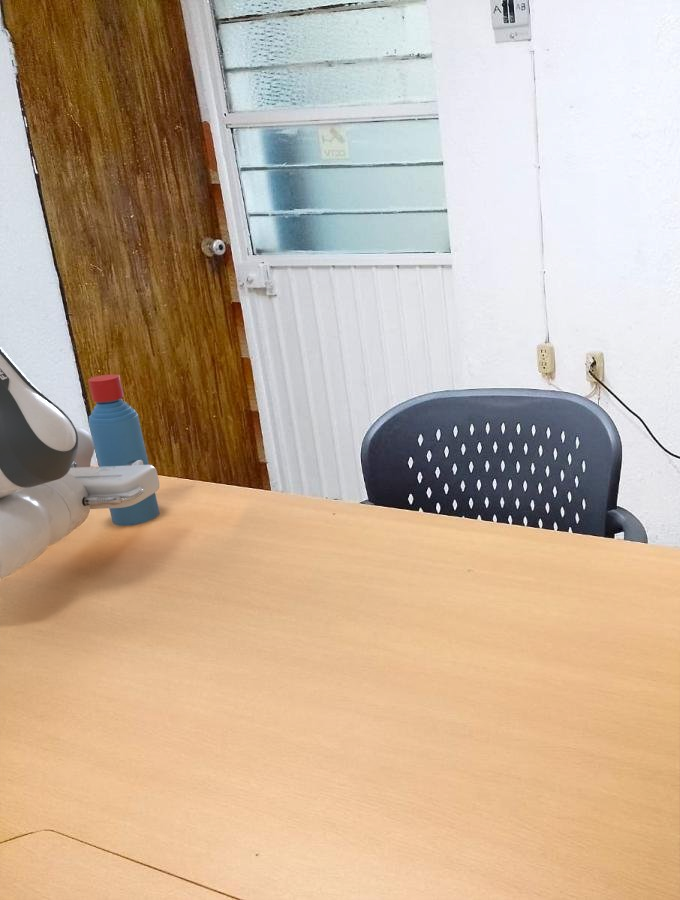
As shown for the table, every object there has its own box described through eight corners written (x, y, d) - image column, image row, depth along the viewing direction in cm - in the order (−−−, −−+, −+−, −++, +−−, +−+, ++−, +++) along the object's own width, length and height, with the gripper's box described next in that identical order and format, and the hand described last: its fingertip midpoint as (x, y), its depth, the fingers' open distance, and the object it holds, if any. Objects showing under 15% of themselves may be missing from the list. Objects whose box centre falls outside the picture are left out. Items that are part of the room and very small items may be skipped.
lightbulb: (54, 496, 135) (36, 433, 132) (84, 483, 141) (68, 421, 137) (84, 499, 134) (68, 435, 130) (114, 485, 140) (99, 423, 136)
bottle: (106, 528, 123) (71, 388, 116) (120, 511, 129) (88, 377, 122) (152, 523, 124) (121, 384, 117) (164, 507, 130) (135, 374, 123)
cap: (88, 403, 118) (83, 382, 117) (98, 395, 122) (93, 375, 121) (118, 401, 119) (114, 380, 118) (127, 393, 122) (123, 373, 121)
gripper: (124, 478, 105) (174, 442, 118) (-39, 484, 105) (28, 448, 118) (135, 523, 107) (182, 483, 120) (-25, 529, 107) (40, 489, 120)
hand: (105, 466), depth 119 cm, fingers open, 8 cm apart
